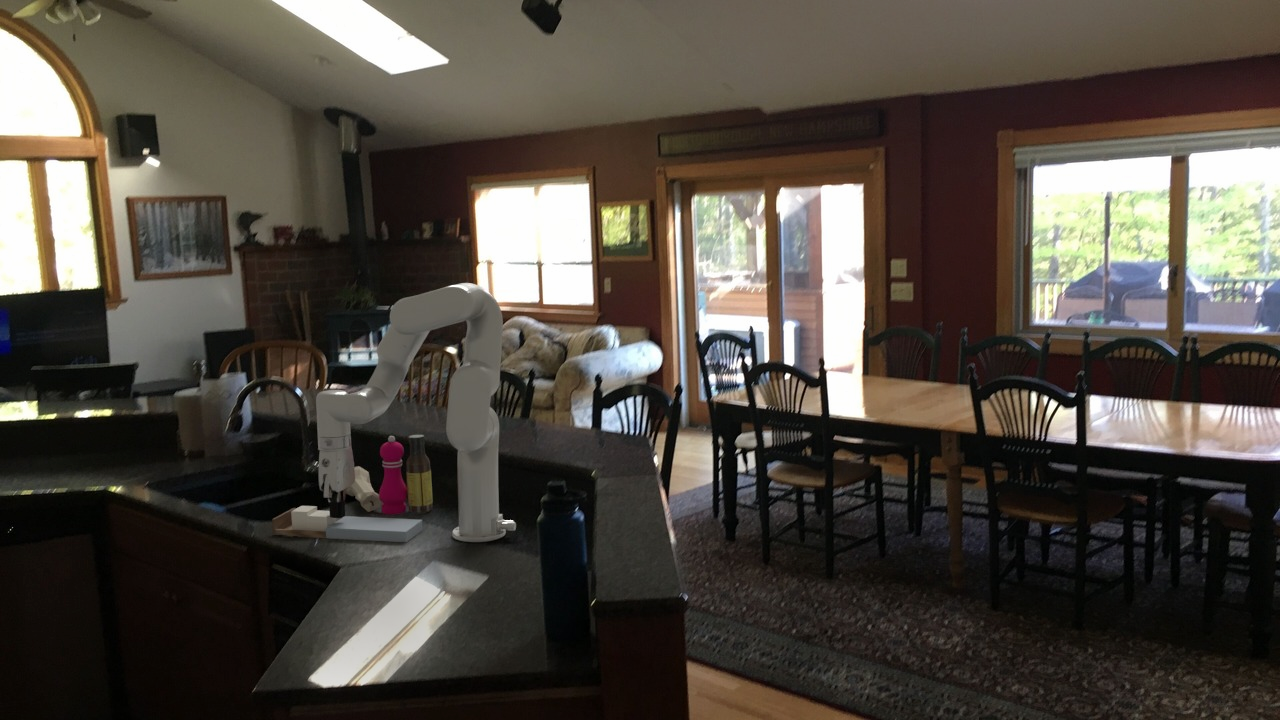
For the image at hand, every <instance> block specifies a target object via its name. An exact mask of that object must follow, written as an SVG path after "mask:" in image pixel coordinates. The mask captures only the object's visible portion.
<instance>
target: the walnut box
mask: <svg viewBox="0 0 1280 720" xmlns="http://www.w3.org/2000/svg"><path fill="white" fill-rule="evenodd" d="M295 509H296V507H293V508H290V509H289V510H287V511H285V512H283V513H281V514H279V515H278V516H276V517H274V518H272V520H271V521H272V525H271V526H272V535H273V534H283V535H288V536H287V537H293V536H298V537H297V538H312V539H313V538H315V539H316V538H318V539H327V538H326V531H311V530H292V515H291V511H293V510H295ZM338 520H339V519H337V521H338Z"/></svg>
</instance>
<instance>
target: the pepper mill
mask: <svg viewBox="0 0 1280 720" xmlns="http://www.w3.org/2000/svg"><path fill="white" fill-rule="evenodd" d="M387 440H388V441H387V442H385V443H383V444H382V445H381V446H380V450H379V455H380V457H381V458H382V459H383V460H382V461H381V462H382V464H381V465H382V467H383V469H384V473H383V474H384V477H383V481H382V483H381V485H380V488H379V491H378V492H379V493H378V495H379V499H380V501H381V503H382V504H381V505H380V506H381V508H380V510H381V513H382V514H383V515H388V516H389V515H393V516H394V515H400V514H404V513H406V511H407V504H406V503H405V502H406V501H407V500H408V492H407V485H406V483H405V481H404V479H403V476H402V471H401V470H402V466H403V460H402V457H403V456H404V455H405V449H404V446H403V445H402V444H401V443H400V442H398V441H396V437H395V436H394V435H389V436H388V438H387Z"/></svg>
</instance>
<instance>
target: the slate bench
mask: <svg viewBox="0 0 1280 720" xmlns="http://www.w3.org/2000/svg"><path fill="white" fill-rule="evenodd" d="M337 520H338V521H336V522H335V523H333V524H331V525H330V526H328V527H327V528H326V538H325V539H335V540H337V539H339V540H357V541H373V542H374V541H379V542H396V543H408V542H409V541H410V540H411V539H412V538H414V537H416V535H418V534H419V533H421V532H422V531H423V530H424V529H423V519H413V518H411V519H410V518H391V517H373V516H371V517H369V516H348V515H347V516H346V515H345V516H344V517H342V518H339V519H337Z"/></svg>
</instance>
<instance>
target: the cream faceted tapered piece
mask: <svg viewBox="0 0 1280 720" xmlns="http://www.w3.org/2000/svg"><path fill="white" fill-rule="evenodd" d="M354 470H355V482H354V484H353V485H351V486H350V487H348V488H347V490H346V495H348V496H351V497H354V496H355V499H356V500H357V501H358V502H360V506H361V507H362V508H363V509H364V510H365V511H366V512H367V513H370V512H372V511H374V510H376V509H377V508H378V507H380V506H382V501H381V500H380V499H379V493H377V492H375V490H374V488H373V487H372V483H371V480H370V479H371V478H370V474H369V473H370V472H369V471H367V470H366V469H364V468H363V467H361V466H359V465H358V466H354Z"/></svg>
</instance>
